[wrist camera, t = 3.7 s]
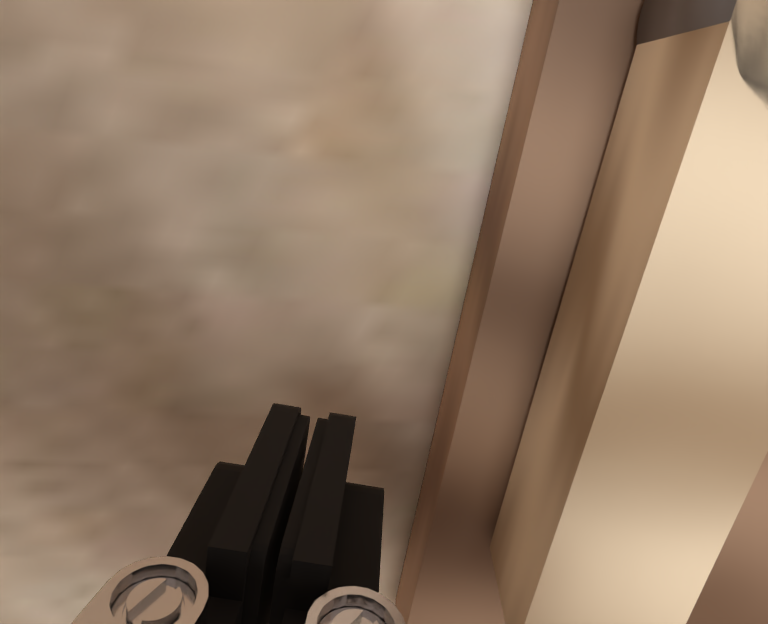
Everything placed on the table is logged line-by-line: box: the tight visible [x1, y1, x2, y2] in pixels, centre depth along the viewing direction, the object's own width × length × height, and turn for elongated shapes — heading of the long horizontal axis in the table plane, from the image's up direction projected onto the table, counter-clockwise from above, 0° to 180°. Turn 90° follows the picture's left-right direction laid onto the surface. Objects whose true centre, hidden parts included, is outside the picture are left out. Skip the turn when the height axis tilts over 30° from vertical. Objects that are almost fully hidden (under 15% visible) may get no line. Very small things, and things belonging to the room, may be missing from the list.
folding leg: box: [490, 0, 768, 624], centre depth 10 cm, size 14×3×3 cm, turn 171°
